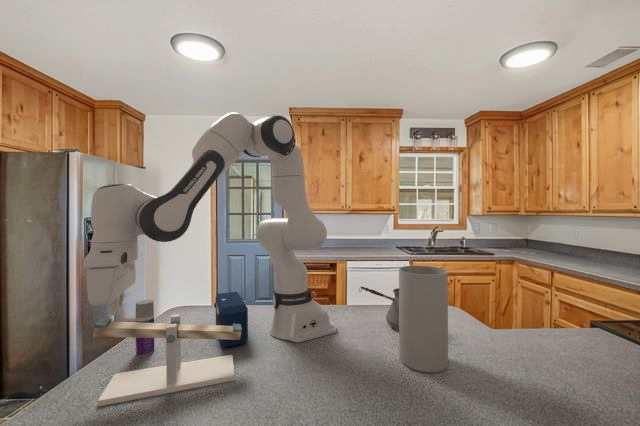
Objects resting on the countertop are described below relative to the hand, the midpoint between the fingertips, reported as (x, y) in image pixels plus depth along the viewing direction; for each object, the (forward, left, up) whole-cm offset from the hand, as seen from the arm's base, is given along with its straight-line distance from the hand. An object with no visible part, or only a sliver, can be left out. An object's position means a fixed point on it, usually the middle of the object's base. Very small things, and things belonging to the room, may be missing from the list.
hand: (116, 312), depth 68 cm
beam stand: (-12, 0, -18) cm, 22 cm away
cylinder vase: (-75, +14, -18) cm, 78 cm away
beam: (-12, 0, -7) cm, 14 cm away
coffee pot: (-79, -9, -18) cm, 82 cm away
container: (-2, -18, -18) cm, 26 cm away
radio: (-26, -22, -18) cm, 39 cm away
